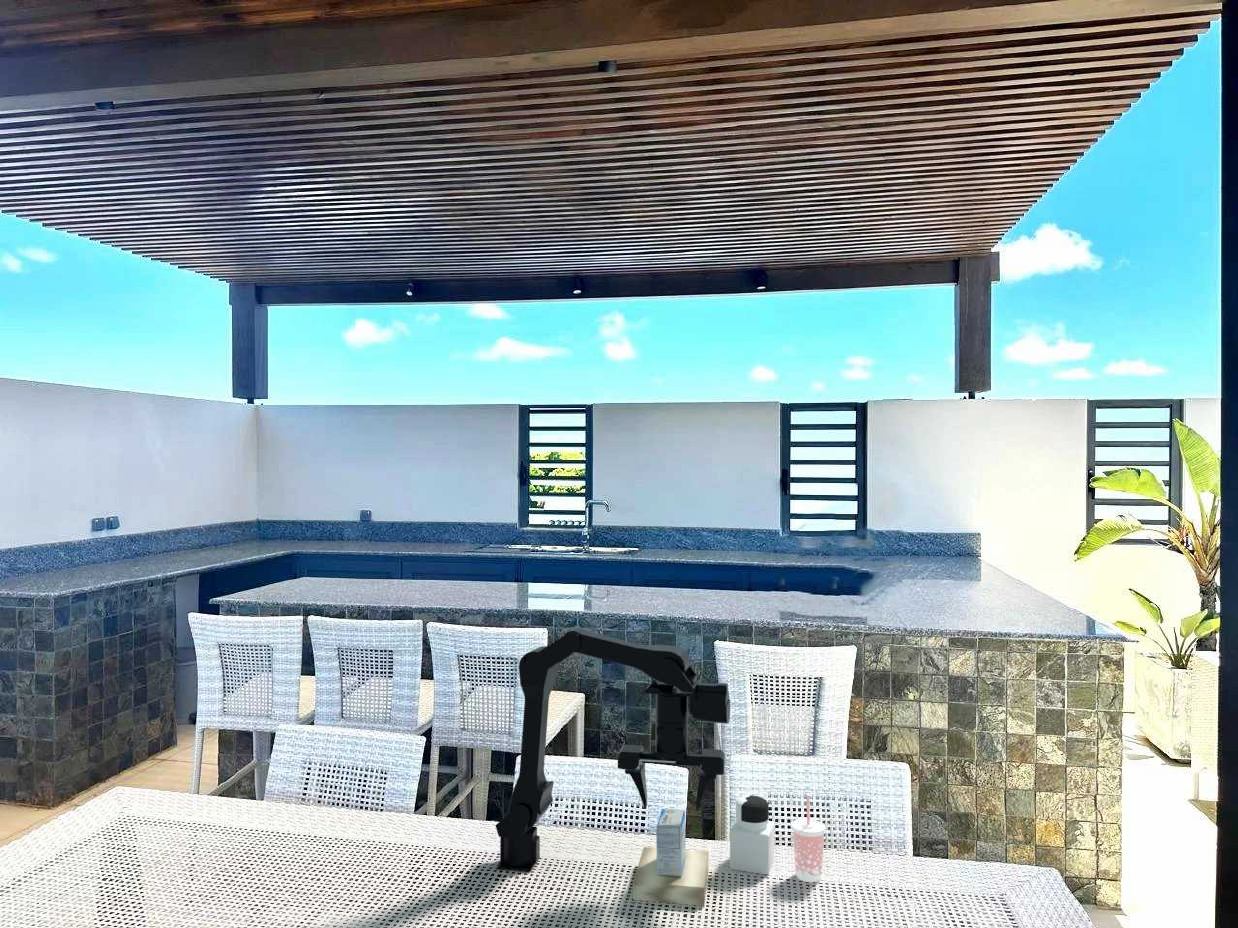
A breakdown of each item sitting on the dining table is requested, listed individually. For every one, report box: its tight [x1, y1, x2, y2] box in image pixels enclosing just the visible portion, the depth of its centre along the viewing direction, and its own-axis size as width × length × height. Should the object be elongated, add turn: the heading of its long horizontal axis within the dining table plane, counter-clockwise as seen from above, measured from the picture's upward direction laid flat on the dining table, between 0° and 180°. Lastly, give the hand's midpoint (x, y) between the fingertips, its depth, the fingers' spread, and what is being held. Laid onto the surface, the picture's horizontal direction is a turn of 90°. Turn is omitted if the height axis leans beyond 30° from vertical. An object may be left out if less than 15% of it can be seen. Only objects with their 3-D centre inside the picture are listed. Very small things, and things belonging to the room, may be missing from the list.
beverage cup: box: [790, 796, 827, 883], centre depth 144 cm, size 6×6×14 cm
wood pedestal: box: [632, 846, 709, 907], centre depth 141 cm, size 12×14×3 cm
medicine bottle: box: [729, 794, 775, 875], centre depth 149 cm, size 7×7×12 cm
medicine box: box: [655, 808, 686, 877], centre depth 141 cm, size 8×4×9 cm, turn 171°
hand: (671, 808), depth 142 cm, fingers open, 9 cm apart
